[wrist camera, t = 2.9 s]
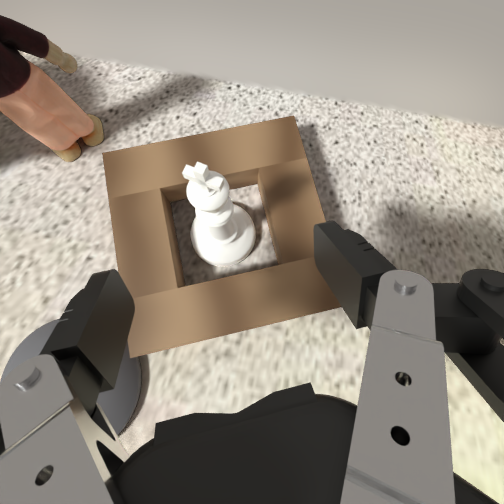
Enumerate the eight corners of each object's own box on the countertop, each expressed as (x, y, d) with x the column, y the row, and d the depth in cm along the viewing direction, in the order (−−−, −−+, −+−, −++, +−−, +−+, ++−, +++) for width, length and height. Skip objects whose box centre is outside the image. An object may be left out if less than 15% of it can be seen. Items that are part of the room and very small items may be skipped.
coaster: (131, 302, 19) (127, 302, 18) (150, 438, 17) (147, 443, 17) (3, 332, 18) (-5, 333, 18) (10, 475, 17) (1, 481, 16)
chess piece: (207, 195, 21) (170, 96, 11) (265, 217, 20) (281, 137, 11) (180, 252, 20) (113, 200, 10) (241, 276, 19) (233, 248, 10)
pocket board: (288, 136, 22) (294, 115, 19) (337, 304, 19) (350, 304, 17) (119, 170, 21) (102, 153, 18) (145, 351, 18) (130, 358, 16)
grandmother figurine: (94, 98, 22) (-103, -164, 10) (124, 126, 22) (-41, -113, 9) (20, 159, 21) (-311, -51, 9) (51, 190, 21) (-252, 14, 8)
